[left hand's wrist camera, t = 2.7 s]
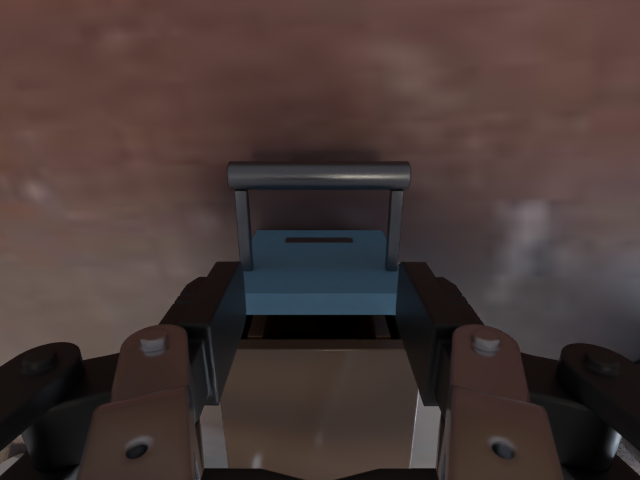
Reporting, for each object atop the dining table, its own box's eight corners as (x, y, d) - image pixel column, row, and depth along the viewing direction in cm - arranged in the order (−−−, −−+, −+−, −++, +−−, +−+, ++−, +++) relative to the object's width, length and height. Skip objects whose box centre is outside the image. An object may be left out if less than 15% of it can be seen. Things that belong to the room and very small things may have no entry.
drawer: (251, 145, 24) (213, 171, 16) (387, 145, 24) (423, 171, 16) (269, 429, 33) (251, 545, 24) (370, 429, 33) (387, 545, 24)
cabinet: (252, 257, 28) (213, 349, 18) (386, 257, 28) (424, 349, 18) (265, 450, 35) (243, 597, 25) (373, 450, 35) (395, 597, 25)
